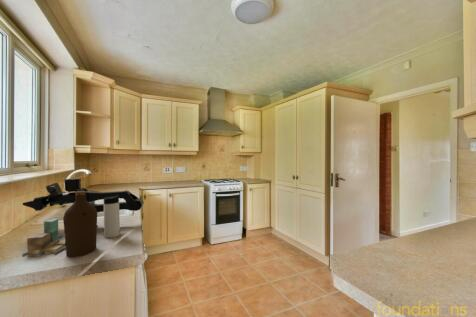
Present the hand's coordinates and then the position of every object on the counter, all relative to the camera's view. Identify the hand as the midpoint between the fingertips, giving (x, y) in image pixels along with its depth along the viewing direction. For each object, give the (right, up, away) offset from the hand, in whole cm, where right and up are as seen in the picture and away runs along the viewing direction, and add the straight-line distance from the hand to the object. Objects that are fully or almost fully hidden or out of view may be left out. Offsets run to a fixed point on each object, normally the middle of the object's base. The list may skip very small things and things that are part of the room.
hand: (29, 201), depth 102 cm
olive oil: (+43, -16, -22) cm, 51 cm away
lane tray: (+28, -16, -15) cm, 36 cm away
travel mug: (+45, -16, -5) cm, 48 cm away
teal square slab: (+25, -15, -19) cm, 35 cm away
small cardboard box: (+32, -15, -21) cm, 41 cm away
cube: (+26, -14, -21) cm, 36 cm away
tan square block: (+31, -15, -16) cm, 38 cm away
